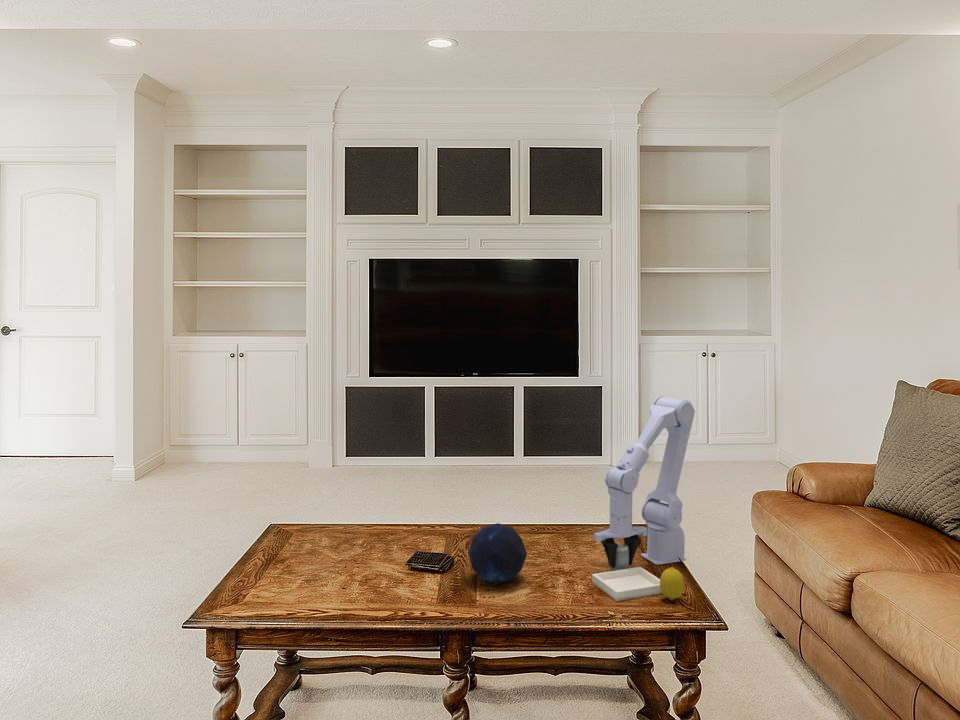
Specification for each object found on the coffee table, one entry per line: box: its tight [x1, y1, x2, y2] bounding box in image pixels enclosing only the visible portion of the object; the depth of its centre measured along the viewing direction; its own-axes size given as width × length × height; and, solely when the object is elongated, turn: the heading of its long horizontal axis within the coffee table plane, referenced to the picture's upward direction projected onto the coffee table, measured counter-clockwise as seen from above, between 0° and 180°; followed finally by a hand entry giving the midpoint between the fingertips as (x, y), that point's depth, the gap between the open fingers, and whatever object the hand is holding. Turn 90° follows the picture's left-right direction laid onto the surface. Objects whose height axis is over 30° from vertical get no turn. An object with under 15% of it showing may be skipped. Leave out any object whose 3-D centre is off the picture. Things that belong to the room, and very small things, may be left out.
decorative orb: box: [467, 522, 528, 585], centre depth 188 cm, size 14×15×15 cm
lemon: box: [659, 566, 685, 601], centre depth 175 cm, size 6×6×8 cm
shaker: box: [611, 542, 630, 571], centre depth 194 cm, size 4×4×7 cm
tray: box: [591, 566, 664, 602], centre depth 183 cm, size 14×12×2 cm
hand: (620, 565), depth 194 cm, fingers closed on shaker, 4 cm apart
